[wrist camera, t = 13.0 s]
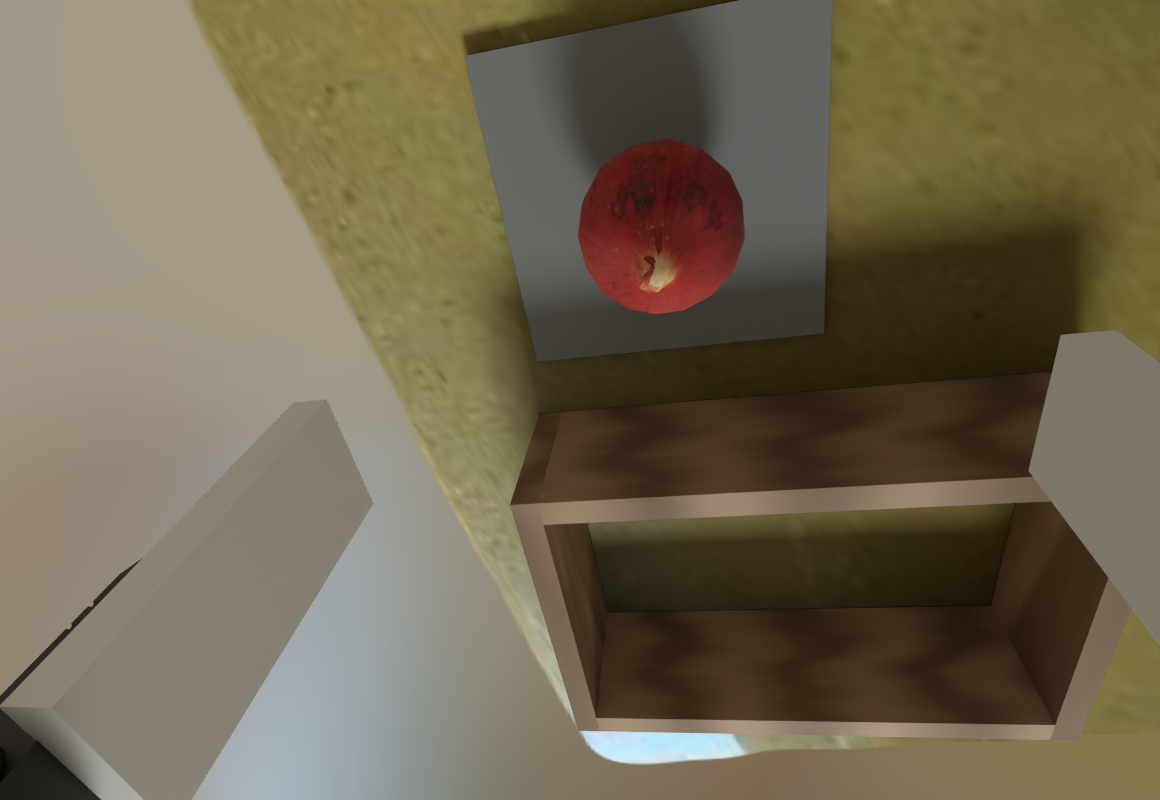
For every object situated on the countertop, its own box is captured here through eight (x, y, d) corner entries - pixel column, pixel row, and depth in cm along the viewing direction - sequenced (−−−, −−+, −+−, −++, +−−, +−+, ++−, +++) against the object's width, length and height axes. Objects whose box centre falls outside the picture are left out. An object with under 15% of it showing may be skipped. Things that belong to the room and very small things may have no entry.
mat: (829, -19, 21) (833, -19, 21) (821, 327, 28) (824, 333, 27) (468, 55, 24) (464, 56, 23) (539, 356, 30) (537, 361, 30)
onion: (576, 141, 24) (541, 192, 18) (727, 108, 23) (750, 151, 16) (605, 280, 27) (584, 370, 21) (741, 258, 26) (765, 346, 19)
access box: (1076, 369, 27) (1187, 468, 22) (1011, 619, 36) (1078, 740, 30) (539, 413, 32) (510, 504, 26) (591, 625, 40) (578, 730, 35)
